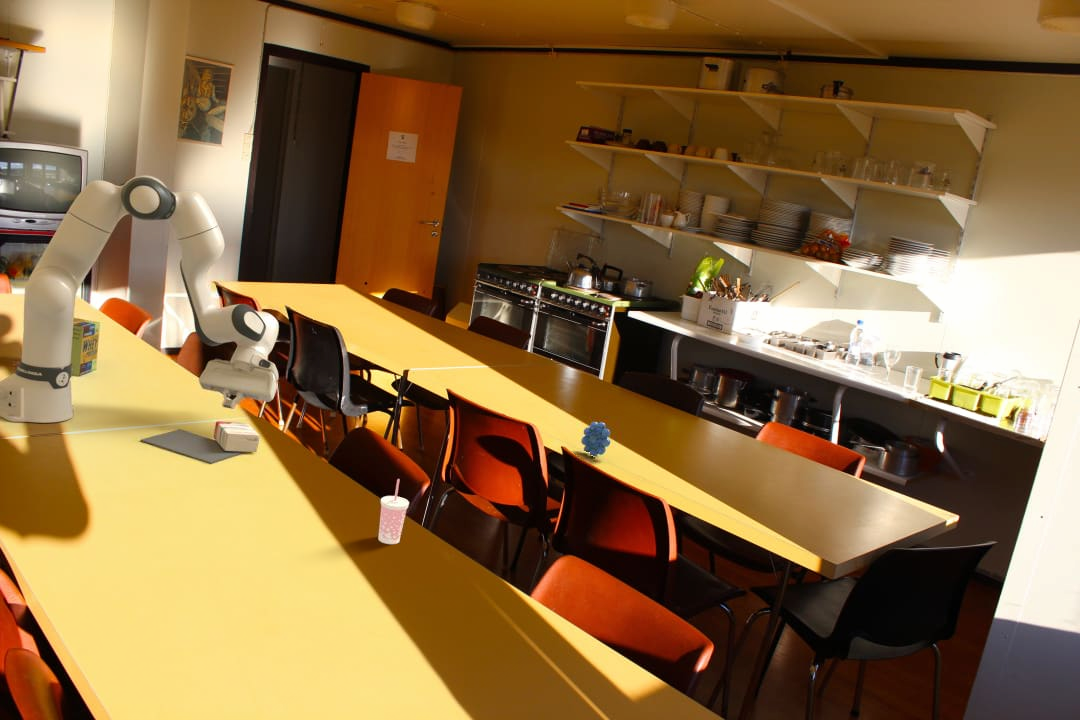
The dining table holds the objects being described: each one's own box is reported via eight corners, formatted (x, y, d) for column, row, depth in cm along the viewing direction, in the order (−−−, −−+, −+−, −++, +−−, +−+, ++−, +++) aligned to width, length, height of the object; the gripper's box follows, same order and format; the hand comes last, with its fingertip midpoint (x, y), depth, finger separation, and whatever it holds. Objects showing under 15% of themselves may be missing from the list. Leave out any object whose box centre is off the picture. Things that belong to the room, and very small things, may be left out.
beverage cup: (390, 548, 191) (399, 486, 188) (368, 538, 194) (378, 477, 191) (408, 541, 196) (418, 481, 194) (387, 531, 199) (397, 472, 197)
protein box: (79, 377, 270) (84, 327, 268) (29, 368, 270) (32, 317, 267) (97, 370, 281) (101, 322, 278) (48, 361, 280) (52, 313, 278)
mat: (140, 441, 226) (140, 439, 226) (179, 430, 240) (179, 429, 239) (210, 464, 220) (210, 462, 220) (247, 451, 233) (247, 450, 233)
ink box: (212, 438, 237) (223, 451, 227) (215, 420, 236) (226, 432, 227) (245, 440, 242) (257, 452, 232) (248, 422, 241) (260, 434, 232)
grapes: (614, 462, 284) (622, 426, 282) (600, 463, 280) (607, 427, 277) (589, 450, 293) (596, 415, 290) (574, 451, 288) (581, 415, 286)
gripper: (207, 351, 244) (187, 393, 236) (280, 365, 242) (261, 408, 235) (213, 364, 249) (193, 405, 241) (284, 378, 248) (266, 420, 240)
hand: (227, 407), depth 238 cm, fingers closed
